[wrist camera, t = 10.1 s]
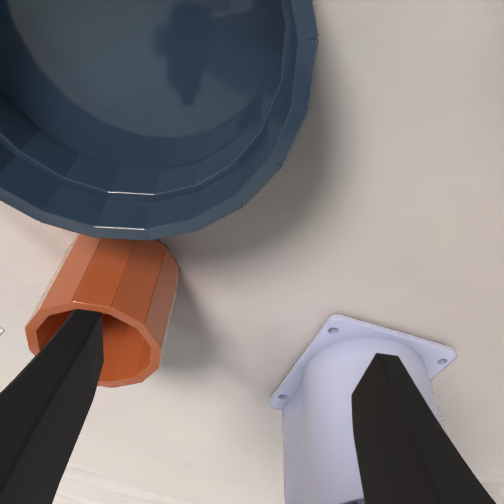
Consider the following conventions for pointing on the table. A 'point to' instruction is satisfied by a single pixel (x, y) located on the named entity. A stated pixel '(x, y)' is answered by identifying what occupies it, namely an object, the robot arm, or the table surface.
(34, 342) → the orange hollow tube
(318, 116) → the table surface
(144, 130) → the serving bowl
